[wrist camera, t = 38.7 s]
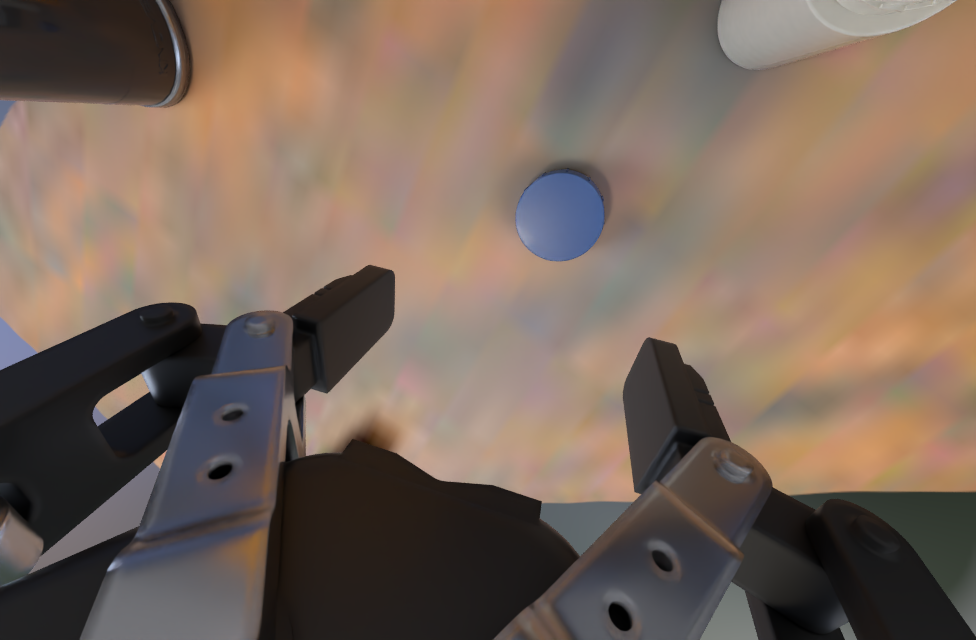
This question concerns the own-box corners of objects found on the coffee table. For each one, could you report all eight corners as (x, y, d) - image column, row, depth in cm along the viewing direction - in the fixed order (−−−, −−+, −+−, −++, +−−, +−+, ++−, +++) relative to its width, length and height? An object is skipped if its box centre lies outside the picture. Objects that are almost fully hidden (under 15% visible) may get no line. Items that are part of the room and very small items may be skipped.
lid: (580, 264, 26) (579, 274, 25) (509, 235, 27) (503, 242, 25) (620, 188, 23) (621, 193, 22) (538, 155, 24) (535, 158, 22)
